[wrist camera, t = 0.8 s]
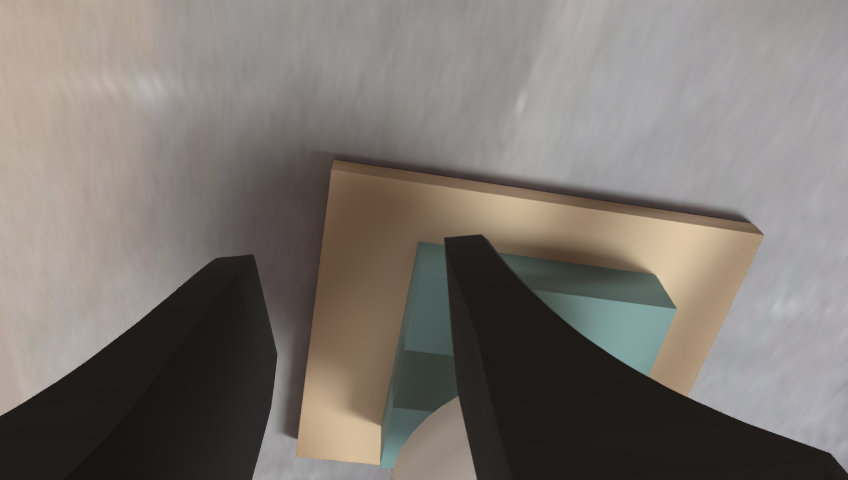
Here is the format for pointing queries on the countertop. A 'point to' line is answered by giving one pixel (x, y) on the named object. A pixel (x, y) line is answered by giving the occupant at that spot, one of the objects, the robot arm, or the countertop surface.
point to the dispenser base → (507, 225)
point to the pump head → (437, 448)
